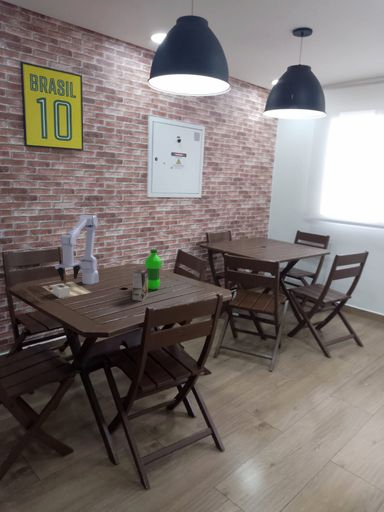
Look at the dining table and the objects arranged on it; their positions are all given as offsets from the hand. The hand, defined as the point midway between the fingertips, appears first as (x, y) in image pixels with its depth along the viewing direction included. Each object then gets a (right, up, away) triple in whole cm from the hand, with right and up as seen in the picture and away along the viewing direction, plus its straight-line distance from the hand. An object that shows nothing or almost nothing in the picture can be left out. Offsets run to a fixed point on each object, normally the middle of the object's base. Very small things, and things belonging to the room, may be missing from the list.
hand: (68, 279), depth 208 cm
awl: (-9, -4, +16) cm, 19 cm away
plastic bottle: (+45, -7, +23) cm, 51 cm away
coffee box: (+40, -11, +4) cm, 42 cm away
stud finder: (-4, -9, -2) cm, 10 cm away
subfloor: (-4, -8, +8) cm, 12 cm away
